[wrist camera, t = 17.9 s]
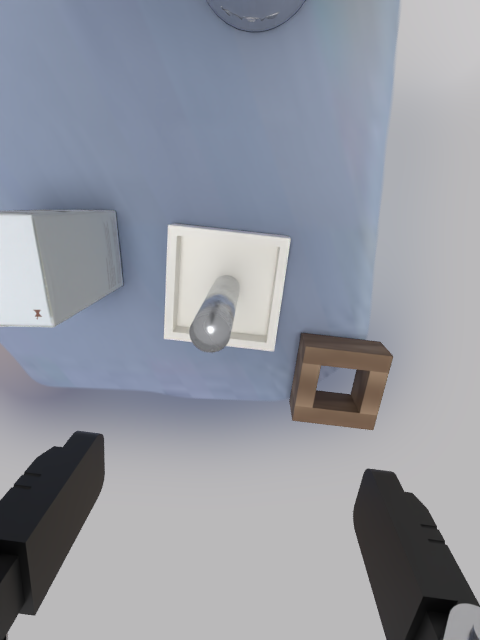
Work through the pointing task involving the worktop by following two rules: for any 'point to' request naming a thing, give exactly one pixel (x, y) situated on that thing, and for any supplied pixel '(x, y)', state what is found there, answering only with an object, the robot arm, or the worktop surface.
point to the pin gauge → (216, 315)
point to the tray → (226, 259)
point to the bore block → (337, 406)
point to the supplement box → (56, 264)
